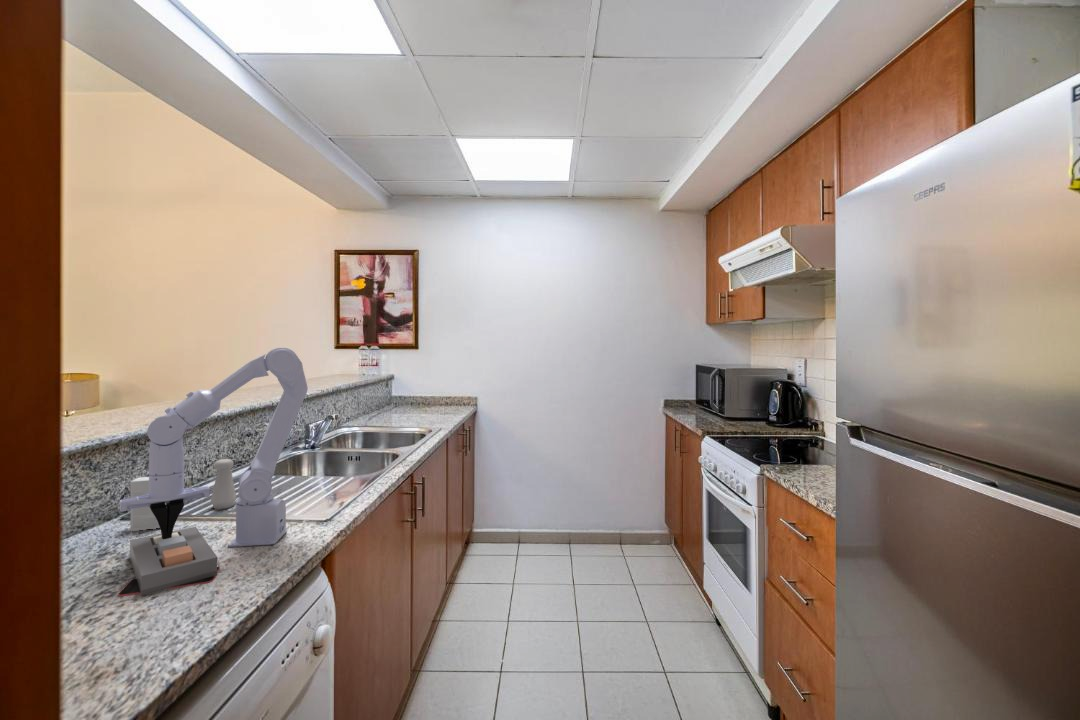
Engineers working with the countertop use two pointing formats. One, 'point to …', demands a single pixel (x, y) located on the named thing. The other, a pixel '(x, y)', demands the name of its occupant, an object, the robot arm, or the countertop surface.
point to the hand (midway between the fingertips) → (166, 537)
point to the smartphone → (134, 589)
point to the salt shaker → (223, 485)
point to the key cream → (155, 539)
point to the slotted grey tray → (162, 578)
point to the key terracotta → (177, 556)
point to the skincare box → (143, 515)
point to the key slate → (171, 543)
